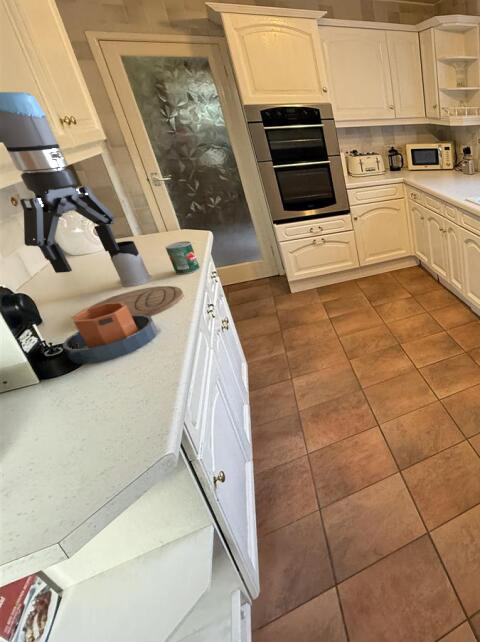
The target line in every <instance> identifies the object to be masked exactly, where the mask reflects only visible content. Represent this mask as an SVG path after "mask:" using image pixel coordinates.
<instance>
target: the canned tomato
mask: <svg viewBox="0 0 480 642" xmlns="http://www.w3.org/2000/svg"><path fill="white" fill-rule="evenodd" d="M164 249H165V250H166V252H167V256H168V257H169V260H170V262H171V265H172V267H173V270H174V272H175V274H176V275H188V274H191V273H195V272H197V271H199V270H200V269H201V267H200V263H199V261H198V259H197V255H196V253H195V251H194V248H193V245H192V242H191V241H185V240H184V241H178V242H174V243H173V242H172V243H170V244H167V245H166V246H165V247H164Z"/></svg>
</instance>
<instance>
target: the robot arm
mask: <svg viewBox="0 0 480 642" xmlns="http://www.w3.org/2000/svg"><path fill="white" fill-rule="evenodd" d="M0 144H3V145H4V147H5V148H6V151H7V154H9V157H10V159H11V160H12V163H13V164H14V167H15V168H16V170H17V171H19V172H21V174H20V178H21V180H22V181H23V183H24V185H25V187H26V189H27V190H29V191H30V192H32V193H33V194H34V196H35V197H32V198H31V197H30V198H21V199H20V200H19V202H20V205H21V207H22V210H23V233H24V234H23V236H24V239H23V241H24V245H25V246H27V247H38V248H39V249H40V251H41V253H42V255H43V257H44V258H45V260H46V261H49V264H50V265H51V267H52V268H53V270H54V272H55V273H56V274H58V273H59V274H60V273H71V272H73V269H72V268H71V265H70V263H69V261H68V260H67V258H66V256H65V253H64V252H63V249H62V248H61V246H60V244H59V243H58V242H55V243H54V241H55V237H56V233H57V228H58V225H59V221H60V218H62V216H63V215H64V214H67V213H69V212H71V211H72V212H73V211H74V212H75V213H78V214H79V215H80V216H82V217H84V218H85V219H87V220H89V221H90V222H92V223H94V224H95V226H93V228H94V231H95V232H96V235H97V236H98V239H99V240H100V243H101V245H102V247H103V249H104V251H105V252H108V251H118V250H119V247H118V245H117V243H118V242H117V241H116V238H115V233H114V232H113V230H112V227H111V225H114V223H115V222H114V220H115V219H116V217H115V215H114V214H113V213H112V212H111V210H109V209H108V208H107V207H106V206H105V205H104V204H103V203H102V202H101V201H100V200H99V199H98V198H97V197H96V196H95V195H94V194H93V192H92V191H91V189H90V187H89V186H88V185H83V186H77V184H78V182H77V180H76V178H75V176H74V173H73V172H72V170H71V169H69V168H66V167H68V166H69V164H68V162H67V160H66V157H65V156H64V154H63V152H62V150H61V148H60V145H59V143H58V141H57V139H56V137H55V134H54V132H53V130H52V128H51V124H50V123H49V120H48V118H47V115H46V113H44V110H43V109H42V107H41V105H40V104H39V101H38V100H37V98H36V97H35V96H34V95H33V94H31V93H29V92H23V91H0Z"/></svg>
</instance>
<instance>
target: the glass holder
mask: <svg viewBox="0 0 480 642" xmlns="http://www.w3.org/2000/svg"><path fill="white" fill-rule="evenodd" d="M116 243H117V245H118V247H119V250H118V251H107V252H108V254H109V257H110V260H111V263H112V265H113V267H114V268H115V271H116V273H117V275H118V277H119V279H120V281H121V287H123V288H131V287H132V288H133V287H136V286H141V285H145V284H146V283H149V282H151V281H152V280H153V277H152V276H151V275H150V274H149V272H148V270H147V266H146V265H145V263H144V260H143V257H142V255H141V254H140V252H139V250H138V248H137V245H136V243H135V241H134V240H123V241H118V242H116Z"/></svg>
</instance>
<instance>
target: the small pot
mask: <svg viewBox="0 0 480 642" xmlns="http://www.w3.org/2000/svg"><path fill="white" fill-rule="evenodd" d="M90 307H91V306H90ZM70 318H71V320H72V321H73V323H74V325H75V326H76V329H77V331H79V332H80V334H81V336H82V337H83V339H84V341H85V343H86V345H85V346H87V348H93V347H97V346H102V345H106V344H109V343H112V342H115V341H119V340H121V339H124V338H126V337H128V336H131V335H133V334H135V333H136V332H138V331H139V329H137V327H136V324H135V322H134V320H133V318H132V316H131V314H130V312H129V310H128V308H127V306H126V305H125V304H124V302H114V303H105V304H101V305H98V306H94V307H91V308H89V307H88V308H84V309H83V310H81V311H80V312H78V313H76V314H74V315H73V316H71V317H70Z"/></svg>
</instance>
